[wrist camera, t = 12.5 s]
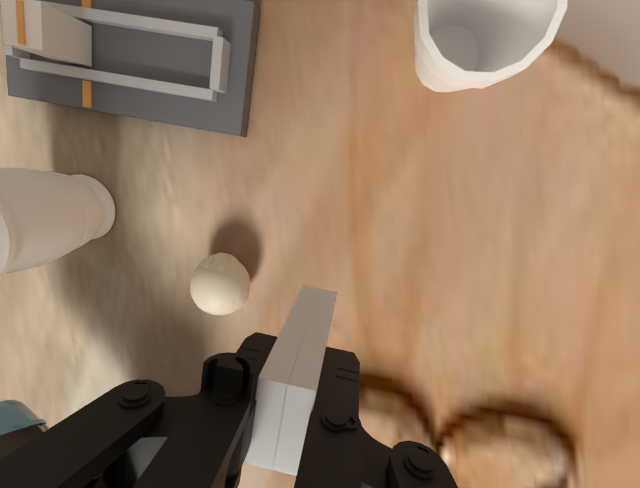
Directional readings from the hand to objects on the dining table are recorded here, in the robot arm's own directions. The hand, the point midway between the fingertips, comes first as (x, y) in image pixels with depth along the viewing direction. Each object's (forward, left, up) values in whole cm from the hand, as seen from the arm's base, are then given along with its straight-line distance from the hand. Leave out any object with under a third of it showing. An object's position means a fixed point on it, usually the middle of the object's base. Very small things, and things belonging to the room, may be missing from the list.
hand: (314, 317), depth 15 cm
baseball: (-10, +13, -27) cm, 31 cm away
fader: (+13, +32, -24) cm, 43 cm away
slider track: (+14, +27, -26) cm, 40 cm away
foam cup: (+18, -7, -27) cm, 33 cm away
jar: (-5, +33, -27) cm, 43 cm away
